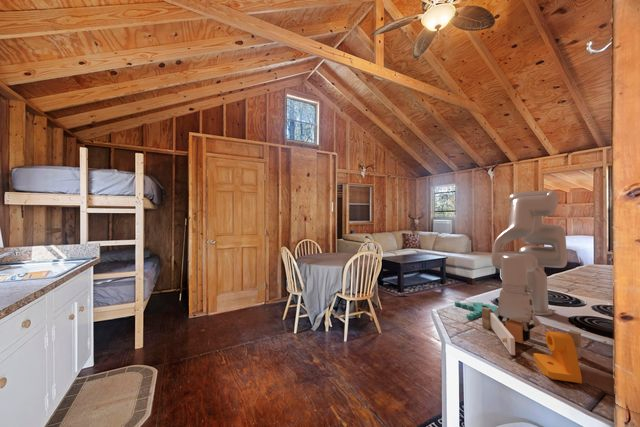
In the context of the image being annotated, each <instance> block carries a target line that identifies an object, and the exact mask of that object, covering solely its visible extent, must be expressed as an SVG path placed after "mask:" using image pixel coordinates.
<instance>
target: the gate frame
mask: <svg viewBox="0 0 640 427" xmlns="http://www.w3.org/2000/svg"><path fill="white" fill-rule="evenodd" d="M490 313H491V309H490V308H486V307H484V308H482V315H481V320H482V323H481V326H482V328H483V329H487V330H493V329H492V328H491V326H490ZM567 333H568V334H569V335H570V336H571V337H572V339H573V341H574V345H575V349H576V354H577V358H578V360H580V359H581V358H582V357H583V353H582V334H581V332H579V331H576V330H572V329H569V330H568V331H567ZM526 342H531V343H533V344H536V345H540V346H542V347H546V348H548V346H547V343H546V341H543V340H540V339H536V338H533V337H531V336H530V339H529V340H527V341H526Z"/></svg>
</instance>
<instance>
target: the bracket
mask: <svg viewBox="0 0 640 427" xmlns="http://www.w3.org/2000/svg"><path fill="white" fill-rule="evenodd" d="M545 342H546V343H547V346H548V347H547V348H548V349H549V351H550V352H552V353H551V354H544V353H537V352H536V353H533V361H534V362H535V365H536V367H537V368H538V369H539V371H540V372H541V373H542V374H543V375H544V376H545V377H548V378H550V379H551V380H557V381H564V382H572V383H576V384H583V382H582V381H583V378H582V377H583V376H582V373H581V367H580V362H579V359H578V358H577V354H576V349H575V345H574V341H573V339H572V337H571V336H570V335H569V334H568V332H558V331H548V330H547V331H546V332H545Z"/></svg>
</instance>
